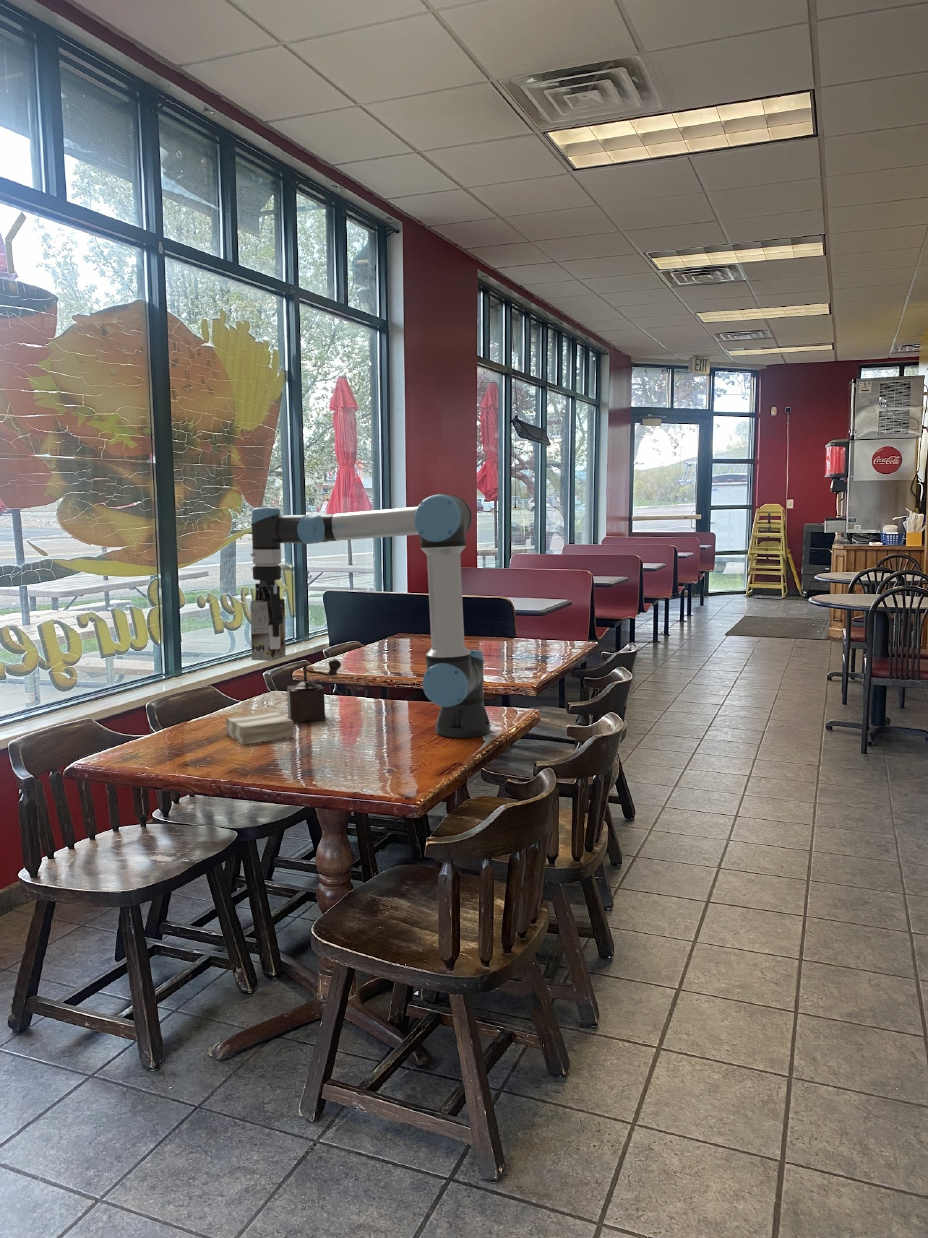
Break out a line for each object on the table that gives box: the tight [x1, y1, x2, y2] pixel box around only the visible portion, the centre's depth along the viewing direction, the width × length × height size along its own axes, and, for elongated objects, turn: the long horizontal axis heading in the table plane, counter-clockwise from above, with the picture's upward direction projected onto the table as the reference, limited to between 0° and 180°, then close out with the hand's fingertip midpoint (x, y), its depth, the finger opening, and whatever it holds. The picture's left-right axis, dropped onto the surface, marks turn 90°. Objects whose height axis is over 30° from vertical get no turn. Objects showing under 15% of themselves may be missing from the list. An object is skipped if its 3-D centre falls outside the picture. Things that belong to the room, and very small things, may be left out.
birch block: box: [225, 711, 294, 745], centre depth 249 cm, size 14×14×5 cm
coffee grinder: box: [287, 658, 342, 723], centre depth 270 cm, size 16×11×18 cm
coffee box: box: [250, 598, 287, 662], centre depth 246 cm, size 9×6×16 cm
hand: (268, 646), depth 247 cm, fingers closed on coffee box, 10 cm apart
